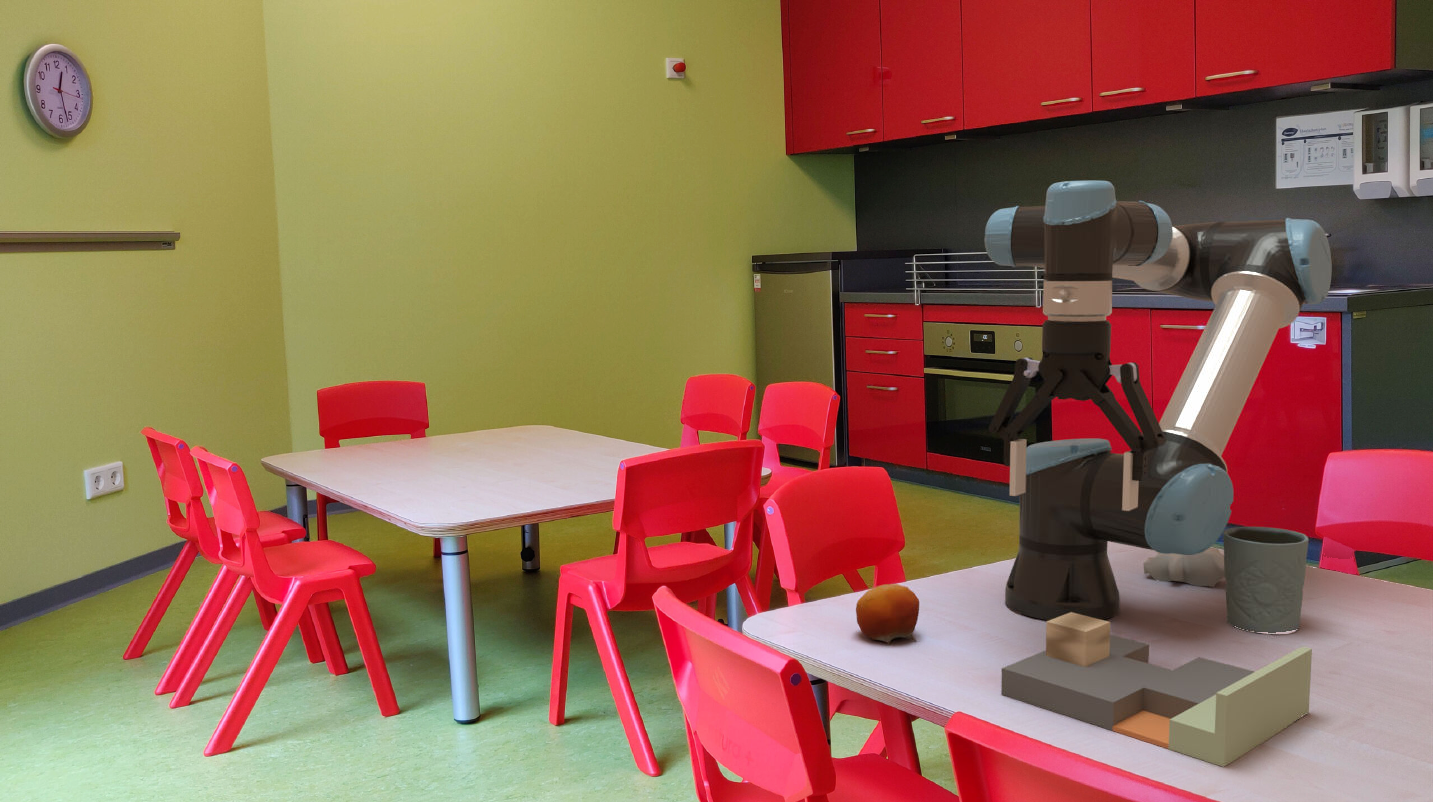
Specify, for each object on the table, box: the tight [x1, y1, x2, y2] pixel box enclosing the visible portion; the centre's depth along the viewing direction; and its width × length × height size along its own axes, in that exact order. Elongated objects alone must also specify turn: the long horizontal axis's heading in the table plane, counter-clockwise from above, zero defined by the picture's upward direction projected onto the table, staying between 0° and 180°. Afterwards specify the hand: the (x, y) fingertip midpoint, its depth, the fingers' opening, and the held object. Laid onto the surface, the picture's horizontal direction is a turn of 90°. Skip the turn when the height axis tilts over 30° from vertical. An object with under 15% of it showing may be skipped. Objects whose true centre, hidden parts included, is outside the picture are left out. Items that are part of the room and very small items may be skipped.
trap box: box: [1000, 633, 1313, 768], centre depth 124 cm, size 25×19×7 cm
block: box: [1045, 612, 1111, 667], centre depth 130 cm, size 5×5×4 cm
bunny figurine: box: [1143, 547, 1225, 588], centre depth 169 cm, size 10×5×15 cm
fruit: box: [855, 583, 920, 645], centre depth 147 cm, size 8×8×8 cm
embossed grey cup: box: [1222, 526, 1309, 633], centre depth 149 cm, size 10×10×12 cm
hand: (1071, 501), depth 134 cm, fingers open, 13 cm apart
